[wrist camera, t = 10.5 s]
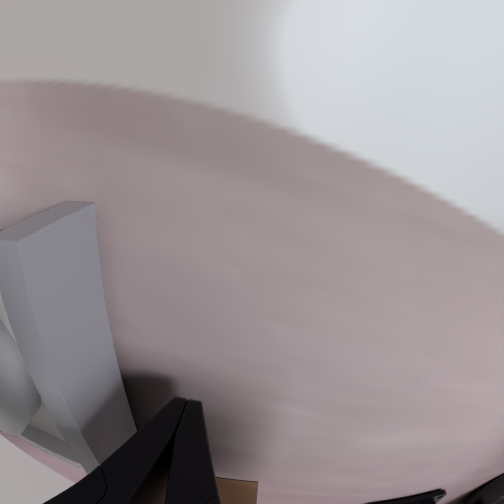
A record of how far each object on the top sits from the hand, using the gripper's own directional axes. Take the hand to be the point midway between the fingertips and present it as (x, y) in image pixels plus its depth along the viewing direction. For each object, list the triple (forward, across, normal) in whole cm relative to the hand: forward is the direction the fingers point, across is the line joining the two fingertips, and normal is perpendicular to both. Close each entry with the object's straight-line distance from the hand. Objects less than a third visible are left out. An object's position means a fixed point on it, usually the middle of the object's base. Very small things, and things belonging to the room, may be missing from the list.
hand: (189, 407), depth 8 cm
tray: (+1, +8, 0) cm, 8 cm away
